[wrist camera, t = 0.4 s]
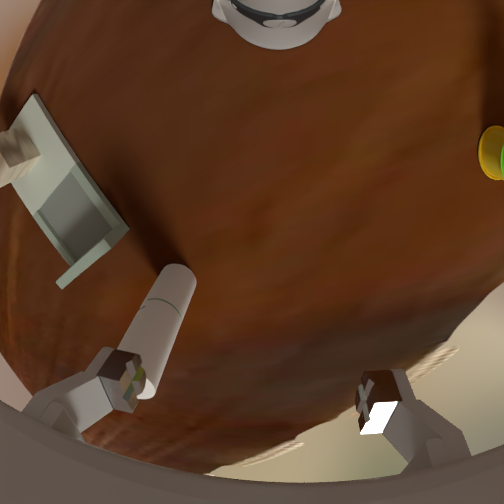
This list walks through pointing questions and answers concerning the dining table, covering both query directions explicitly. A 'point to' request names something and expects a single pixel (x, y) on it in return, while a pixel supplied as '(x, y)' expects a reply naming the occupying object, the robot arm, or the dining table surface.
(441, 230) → the dining table surface
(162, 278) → the cylindrical container
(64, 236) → the board
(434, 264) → the dining table surface
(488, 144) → the stacking cups
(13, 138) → the birch block
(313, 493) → the robot arm
